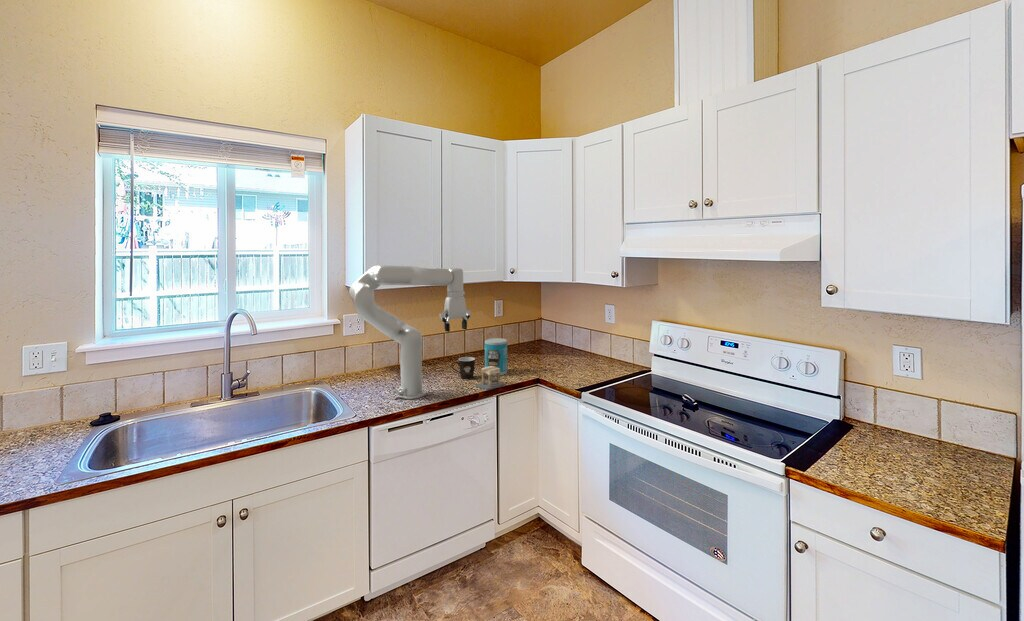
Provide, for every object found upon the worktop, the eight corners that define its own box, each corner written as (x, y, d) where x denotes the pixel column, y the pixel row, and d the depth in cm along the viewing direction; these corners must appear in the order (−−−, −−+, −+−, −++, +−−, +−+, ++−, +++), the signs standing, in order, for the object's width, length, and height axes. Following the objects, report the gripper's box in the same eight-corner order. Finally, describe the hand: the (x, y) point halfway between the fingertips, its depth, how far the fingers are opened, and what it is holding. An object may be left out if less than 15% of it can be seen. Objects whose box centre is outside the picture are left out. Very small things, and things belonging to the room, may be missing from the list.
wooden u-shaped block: (481, 383, 220) (481, 368, 219) (492, 381, 224) (491, 365, 223) (489, 386, 215) (489, 370, 214) (500, 384, 219) (500, 368, 218)
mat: (486, 390, 213) (486, 388, 213) (475, 386, 219) (475, 384, 219) (506, 385, 220) (506, 383, 220) (494, 381, 227) (494, 379, 227)
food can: (491, 377, 234) (491, 343, 232) (481, 371, 244) (480, 339, 242) (511, 373, 240) (511, 341, 238) (500, 368, 250) (500, 337, 248)
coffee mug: (477, 376, 236) (477, 357, 235) (471, 380, 228) (471, 361, 227) (457, 374, 239) (456, 356, 238) (450, 379, 231) (450, 360, 230)
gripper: (466, 292, 220) (466, 327, 222) (435, 295, 209) (436, 331, 211) (475, 294, 214) (475, 329, 216) (444, 296, 203) (444, 333, 205)
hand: (455, 330), depth 214 cm, fingers open, 9 cm apart
